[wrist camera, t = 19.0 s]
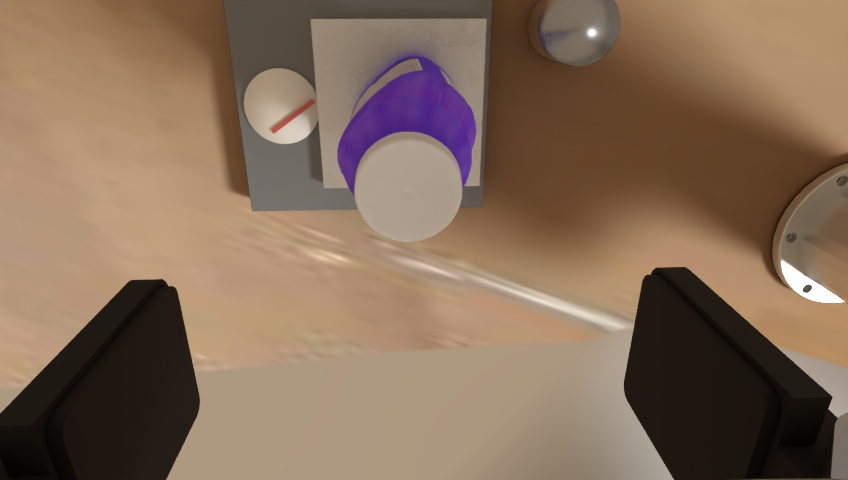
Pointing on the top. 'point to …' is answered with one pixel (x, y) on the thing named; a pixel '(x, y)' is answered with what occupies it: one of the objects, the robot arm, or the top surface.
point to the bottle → (408, 150)
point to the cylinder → (574, 30)
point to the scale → (309, 92)
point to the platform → (376, 50)
